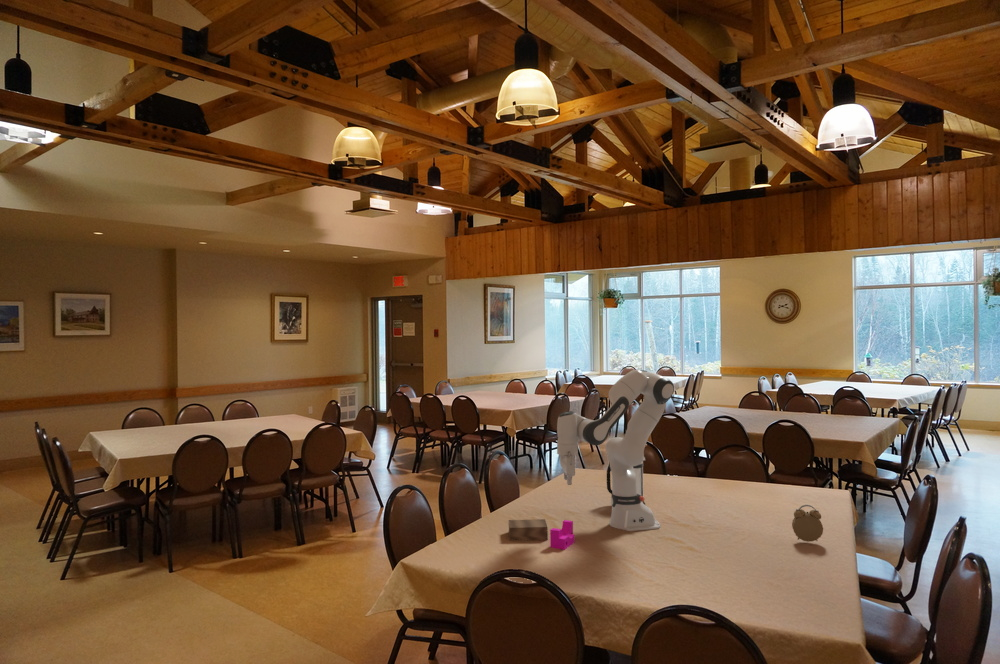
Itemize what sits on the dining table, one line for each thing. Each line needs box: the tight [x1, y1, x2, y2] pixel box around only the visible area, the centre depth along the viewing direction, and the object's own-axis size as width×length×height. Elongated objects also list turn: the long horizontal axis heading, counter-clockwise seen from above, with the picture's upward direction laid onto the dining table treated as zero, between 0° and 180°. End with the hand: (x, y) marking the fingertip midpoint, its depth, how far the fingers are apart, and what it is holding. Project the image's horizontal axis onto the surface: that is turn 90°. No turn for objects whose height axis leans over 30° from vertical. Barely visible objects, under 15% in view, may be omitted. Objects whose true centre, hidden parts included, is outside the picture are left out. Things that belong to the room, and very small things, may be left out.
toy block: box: [549, 519, 575, 551], centre depth 257 cm, size 15×6×8 cm, turn 151°
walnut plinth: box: [508, 518, 549, 541], centre depth 266 cm, size 16×11×6 cm
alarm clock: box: [791, 504, 824, 543], centre depth 255 cm, size 11×5×15 cm, turn 73°
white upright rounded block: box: [606, 457, 647, 505], centre depth 315 cm, size 17×16×30 cm
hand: (567, 482), depth 265 cm, fingers open, 8 cm apart
